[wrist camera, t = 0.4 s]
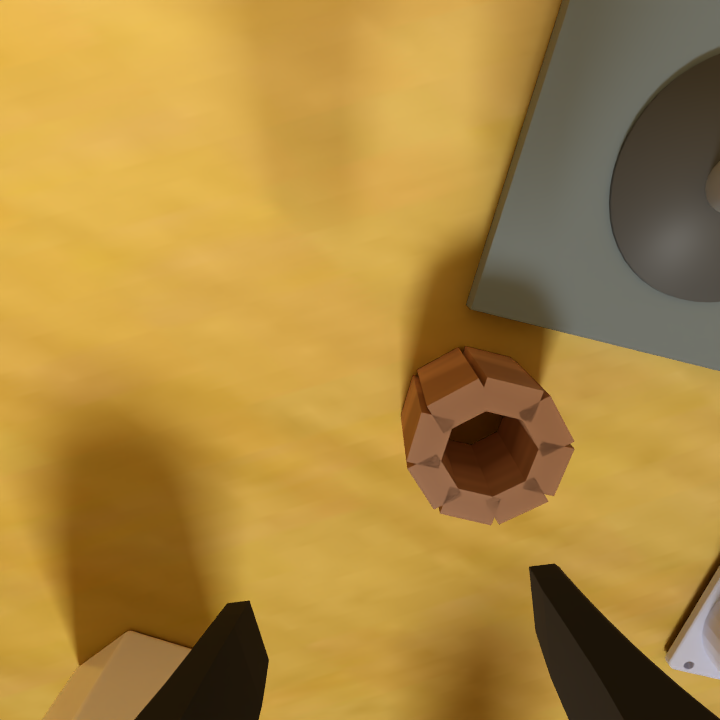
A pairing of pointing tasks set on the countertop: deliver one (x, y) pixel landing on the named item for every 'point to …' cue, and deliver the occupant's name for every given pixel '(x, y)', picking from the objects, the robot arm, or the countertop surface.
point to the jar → (118, 679)
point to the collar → (492, 454)
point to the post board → (617, 184)
